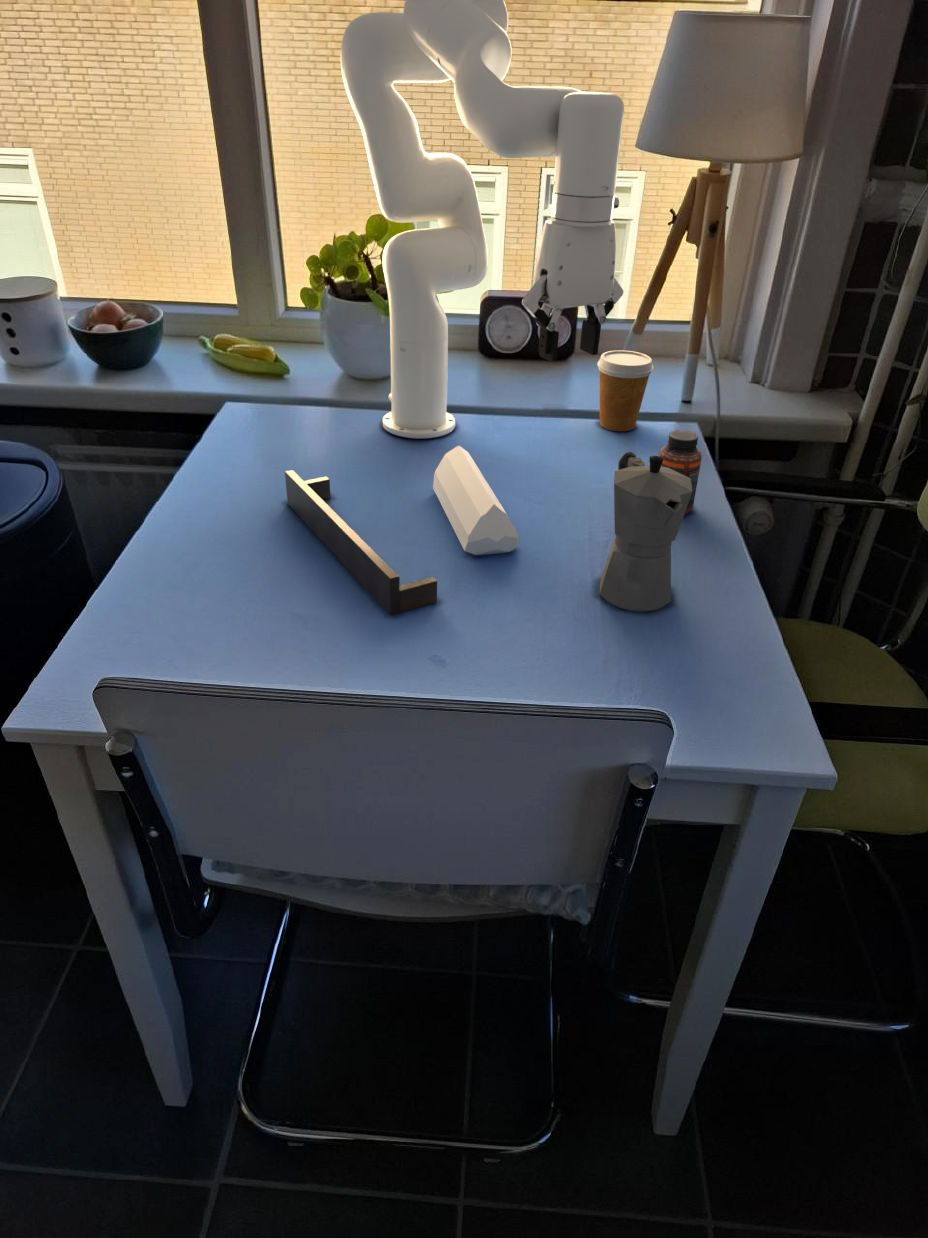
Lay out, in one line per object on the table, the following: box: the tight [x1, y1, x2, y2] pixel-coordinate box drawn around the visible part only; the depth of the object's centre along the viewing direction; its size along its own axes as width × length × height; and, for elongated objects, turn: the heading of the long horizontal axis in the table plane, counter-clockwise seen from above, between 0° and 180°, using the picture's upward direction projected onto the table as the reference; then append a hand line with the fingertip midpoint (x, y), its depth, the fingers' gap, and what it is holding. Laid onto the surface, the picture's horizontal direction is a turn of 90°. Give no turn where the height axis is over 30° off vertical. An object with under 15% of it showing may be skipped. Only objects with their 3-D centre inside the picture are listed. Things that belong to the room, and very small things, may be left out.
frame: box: [284, 469, 438, 616], centre depth 114 cm, size 33×6×5 cm, turn 30°
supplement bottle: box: [658, 429, 703, 515], centre depth 125 cm, size 6×6×11 cm
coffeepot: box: [599, 451, 692, 613], centre depth 104 cm, size 15×9×18 cm, turn 13°
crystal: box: [432, 445, 520, 556], centre depth 122 cm, size 7×7×24 cm
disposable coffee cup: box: [596, 349, 654, 432], centre depth 152 cm, size 10×10×12 cm
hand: (568, 354), depth 117 cm, fingers open, 6 cm apart
